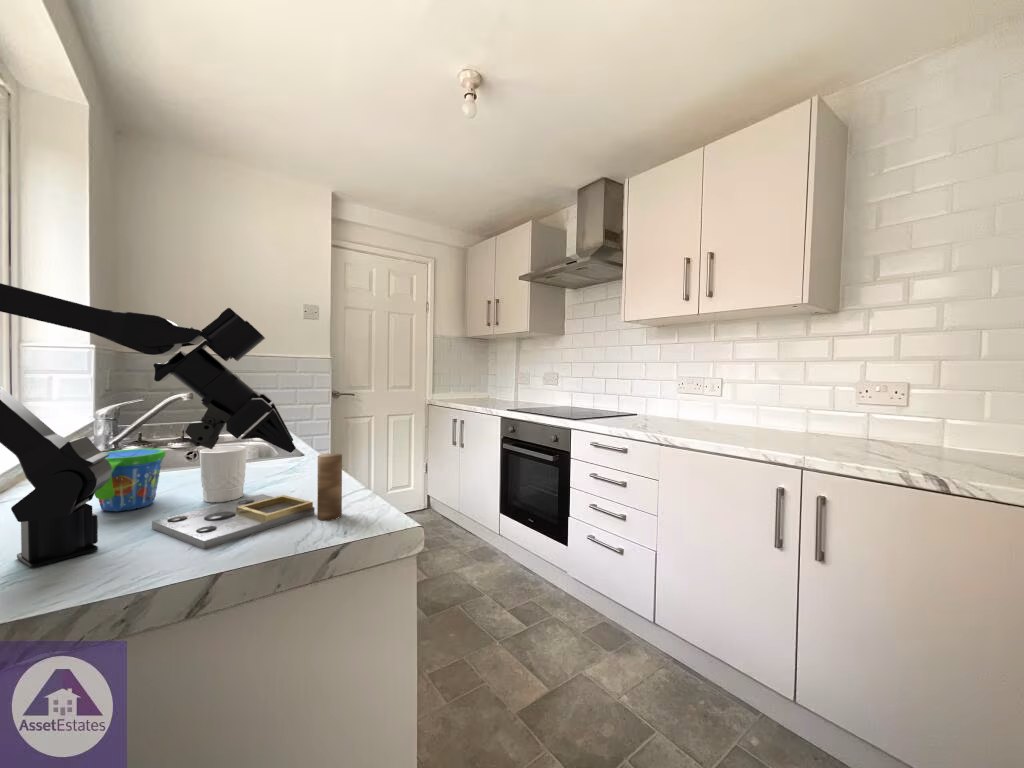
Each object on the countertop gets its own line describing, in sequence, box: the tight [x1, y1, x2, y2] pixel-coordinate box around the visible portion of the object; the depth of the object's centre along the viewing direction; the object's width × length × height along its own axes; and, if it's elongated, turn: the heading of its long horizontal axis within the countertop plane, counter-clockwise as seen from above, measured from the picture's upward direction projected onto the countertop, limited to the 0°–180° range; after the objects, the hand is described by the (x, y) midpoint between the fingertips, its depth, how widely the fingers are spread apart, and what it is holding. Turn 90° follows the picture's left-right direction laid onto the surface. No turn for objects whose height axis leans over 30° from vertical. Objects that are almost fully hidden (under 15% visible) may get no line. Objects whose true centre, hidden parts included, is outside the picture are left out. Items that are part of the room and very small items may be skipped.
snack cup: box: [94, 448, 166, 512], centre depth 80 cm, size 16×10×10 cm
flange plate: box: [151, 493, 315, 550], centre depth 73 cm, size 18×16×2 cm
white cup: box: [199, 445, 248, 504], centre depth 86 cm, size 8×8×10 cm
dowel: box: [316, 452, 343, 521], centre depth 76 cm, size 4×4×11 cm
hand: (292, 446), depth 73 cm, fingers open, 9 cm apart
